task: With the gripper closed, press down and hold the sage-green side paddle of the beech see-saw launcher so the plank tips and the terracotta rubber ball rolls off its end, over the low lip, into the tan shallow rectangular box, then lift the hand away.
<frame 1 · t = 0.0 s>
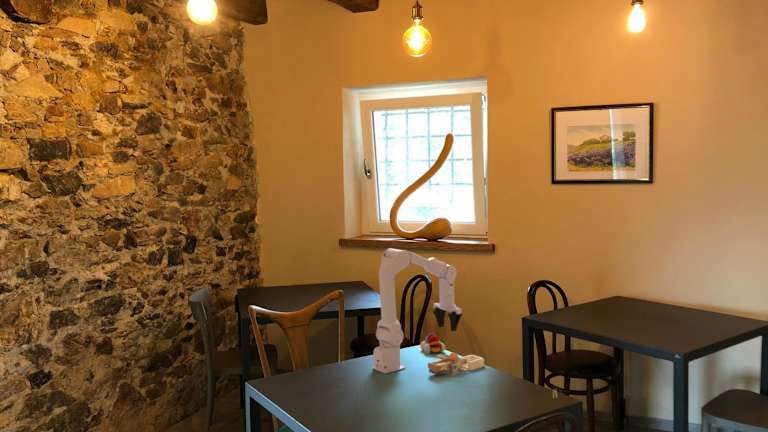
hand: (447, 329, 243), 10 cm above the table, fingers open, 7 cm apart
tan shallow rectangular box: (470, 366, 228), on the table
colorful rounded pieces cluster: (432, 352, 248), on the table
mount: (447, 372, 221), on the table
launcher: (440, 362, 224), point 3 cm above the table, hinge at 0.0°, touching ball
ball: (453, 357, 223), point 5 cm above the table, touching launcher
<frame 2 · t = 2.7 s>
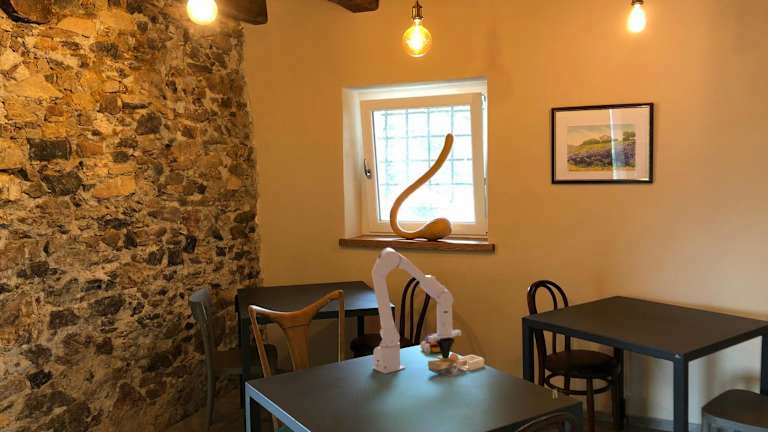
hand: (445, 357, 230), 3 cm above the table, fingers closed, pressing on launcher
launcher: (440, 362, 224), point 3 cm above the table, hinge at 5.6°, touching ball, gripper
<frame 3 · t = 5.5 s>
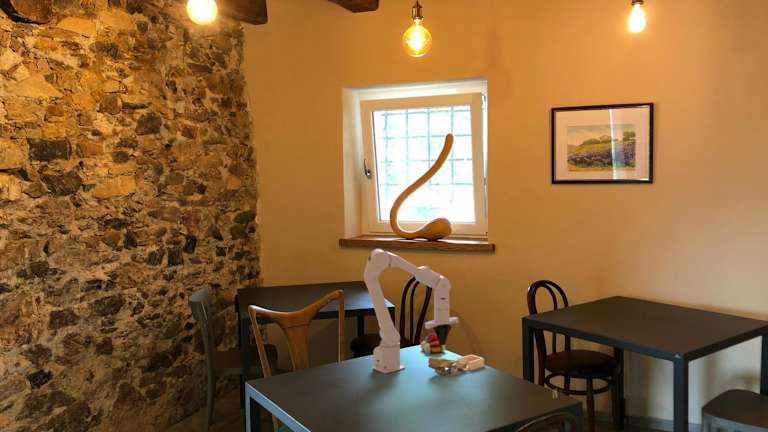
hand: (442, 344, 230), 8 cm above the table, fingers closed
launcher: (440, 362, 224), point 3 cm above the table, hinge at 15.0°
ball: (473, 360, 229), point 2 cm above the table, tilted 9°, touching tan shallow rectangular box
everything else where it was.
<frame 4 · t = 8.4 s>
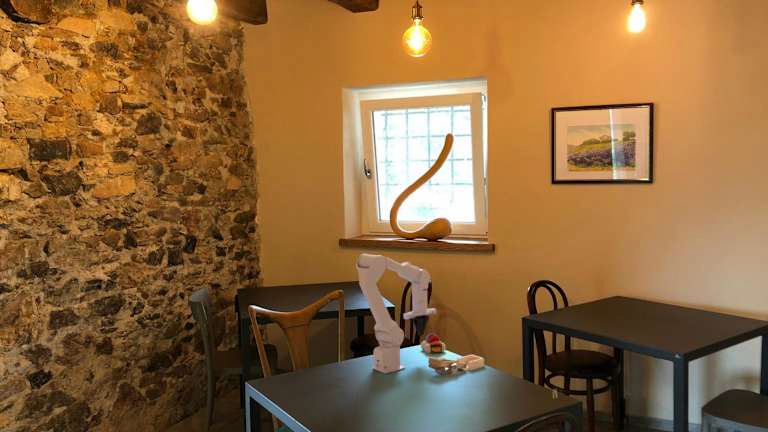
hand: (420, 334, 238), 9 cm above the table, fingers closed
nothing on the table moved.
at the end: ball 1.5 cm off-centre on the tan shallow rectangular box, point 2.0 cm above the tan shallow rectangular box's base; ball touching tan shallow rectangular box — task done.
